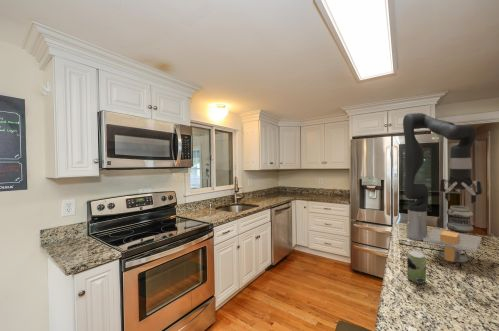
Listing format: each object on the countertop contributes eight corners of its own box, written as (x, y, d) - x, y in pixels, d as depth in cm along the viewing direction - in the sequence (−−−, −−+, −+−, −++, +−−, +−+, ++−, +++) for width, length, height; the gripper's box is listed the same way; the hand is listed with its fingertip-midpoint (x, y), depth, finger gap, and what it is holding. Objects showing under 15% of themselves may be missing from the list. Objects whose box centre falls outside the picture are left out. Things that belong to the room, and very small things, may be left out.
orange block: (440, 259, 104) (440, 234, 104) (443, 255, 109) (443, 230, 108) (456, 263, 100) (456, 237, 99) (459, 258, 104) (459, 233, 104)
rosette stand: (423, 260, 108) (422, 234, 108) (433, 248, 121) (433, 225, 120) (476, 274, 94) (476, 245, 94) (481, 259, 107) (481, 233, 106)
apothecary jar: (450, 237, 135) (449, 208, 135) (444, 231, 146) (443, 204, 145) (477, 240, 130) (477, 209, 129) (468, 233, 140) (468, 205, 140)
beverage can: (422, 277, 93) (421, 249, 93) (429, 287, 87) (429, 256, 86) (404, 275, 96) (404, 247, 95) (410, 285, 89) (410, 255, 88)
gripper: (438, 167, 109) (438, 201, 109) (480, 168, 97) (480, 205, 98) (442, 166, 113) (442, 198, 114) (483, 167, 102) (482, 202, 103)
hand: (460, 201), depth 106 cm, fingers open, 8 cm apart
